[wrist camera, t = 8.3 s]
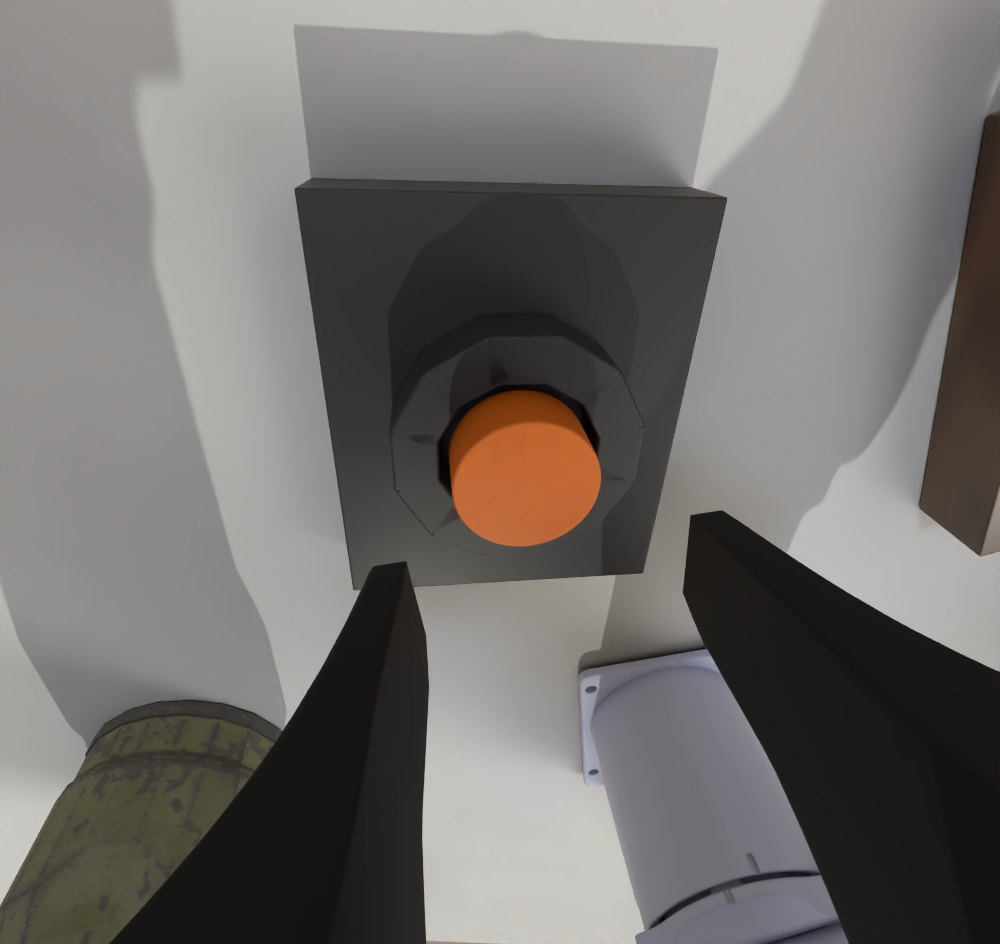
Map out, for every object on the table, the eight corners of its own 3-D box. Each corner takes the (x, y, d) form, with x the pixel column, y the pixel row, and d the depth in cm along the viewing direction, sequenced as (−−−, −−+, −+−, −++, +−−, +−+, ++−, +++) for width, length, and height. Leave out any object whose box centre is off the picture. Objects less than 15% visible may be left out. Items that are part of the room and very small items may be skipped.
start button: (576, 504, 16) (592, 543, 15) (449, 509, 16) (453, 551, 14) (591, 387, 14) (611, 419, 13) (447, 390, 14) (450, 423, 12)
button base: (624, 534, 22) (661, 611, 18) (359, 547, 20) (347, 633, 17) (691, 186, 15) (767, 208, 12) (310, 177, 14) (275, 197, 11)
